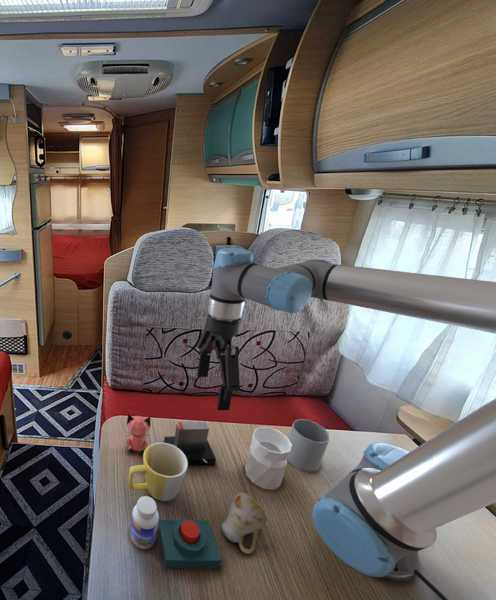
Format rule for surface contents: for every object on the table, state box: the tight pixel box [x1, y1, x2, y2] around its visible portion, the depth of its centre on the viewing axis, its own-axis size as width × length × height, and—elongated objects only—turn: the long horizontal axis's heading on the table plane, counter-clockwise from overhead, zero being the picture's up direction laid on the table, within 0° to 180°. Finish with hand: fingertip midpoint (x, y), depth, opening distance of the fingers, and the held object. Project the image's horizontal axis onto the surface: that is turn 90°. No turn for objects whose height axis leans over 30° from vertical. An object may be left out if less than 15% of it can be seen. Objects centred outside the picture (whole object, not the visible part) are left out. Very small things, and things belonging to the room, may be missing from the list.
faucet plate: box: [163, 435, 217, 467], centre depth 91 cm, size 12×11×3 cm
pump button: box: [180, 520, 199, 544], centre depth 67 cm, size 4×4×2 cm
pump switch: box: [157, 517, 222, 568], centre depth 68 cm, size 11×8×4 cm
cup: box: [287, 418, 331, 473], centre depth 89 cm, size 8×8×10 cm
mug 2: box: [221, 492, 268, 555], centre depth 71 cm, size 8×10×10 cm
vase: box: [244, 426, 292, 491], centre depth 83 cm, size 9×9×12 cm
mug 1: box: [127, 442, 189, 502], centre depth 79 cm, size 14×10×10 cm
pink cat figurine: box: [126, 413, 151, 456], centre depth 90 cm, size 7×7×12 cm
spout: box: [174, 421, 210, 451], centre depth 89 cm, size 8×3×8 cm, turn 93°
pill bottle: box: [130, 495, 160, 550], centre depth 69 cm, size 5×5×10 cm
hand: (211, 391), depth 84 cm, fingers open, 13 cm apart
